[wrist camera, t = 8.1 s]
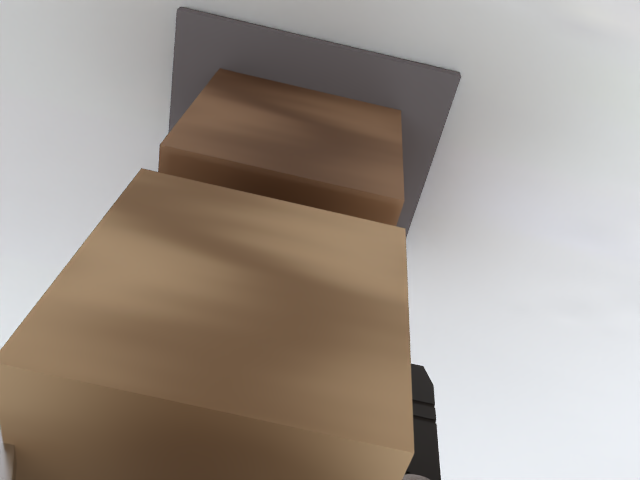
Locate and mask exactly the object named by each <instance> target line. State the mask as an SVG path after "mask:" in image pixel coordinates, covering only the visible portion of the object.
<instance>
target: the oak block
mask: <svg viewBox="0 0 640 480" xmlns="http://www.w3.org/2000/svg"><path fill="white" fill-rule="evenodd" d="M0 426H1V433H2V440H3V443H7V444H12V445H15V453H16V461H17V467H16V480H402V479H403V477H404V474H405V472H406V470H407V468H408V466H409V464H410V462H411V459H412V457H413V455H414V431H413V406H412V381H411V356H410V332H409V307H408V282H407V257H406V232H405V228H401V227H397V226H392V225H388V224H383V223H379V222H375V221H370V220H366V219H361V218H357V217H353V216H348V215H344V214H339V213H335V212H331V211H326V210H322V209H317V208H313V207H309V206H304V205H300V204H295V203H291V202H287V201H282V200H278V199H274V198H269V197H265V196H260V195H256V194H252V193H247V192H243V191H238V190H234V189H230V188H225V187H221V186H216V185H212V184H208V183H203V182H199V181H194V180H190V179H186V178H181V177H177V176H172V175H168V174H164V173H159V172H155V171H151V170H146V169H142V168H141V170H140V171H139V172H138V173H137V175H136V176H135V177H134V179H133V180H132V181H131V183H130V184H129V185H128V186H127V188H126V189H125V190H124V192H123V193H122V194H121V195H120V197H119V198H118V199H117V201H116V202H115V203H114V204H113V206H112V207H111V208H110V210H109V211H108V212H107V213H106V215H105V216H104V217H103V219H102V220H101V221H100V222H99V224H98V225H97V226H96V228H95V229H94V230H93V231H92V233H91V234H90V235H89V237H88V238H87V239H86V240H85V242H84V243H83V244H82V246H81V247H80V248H79V249H78V251H77V252H76V253H75V255H74V256H73V257H72V259H71V260H70V261H69V262H68V264H67V265H66V266H65V268H64V269H63V270H62V271H61V273H60V274H59V275H58V277H57V278H56V279H55V280H54V282H53V283H52V284H51V286H50V287H49V288H48V289H47V291H46V292H45V293H44V295H43V296H42V297H41V298H40V300H39V301H38V302H37V304H36V305H35V306H34V307H33V309H32V310H31V311H30V313H29V314H28V315H27V316H26V318H25V319H24V320H23V322H22V323H21V324H20V325H19V327H18V328H17V329H16V331H15V332H14V333H13V335H12V336H11V337H10V338H9V340H8V341H7V342H6V344H5V345H4V346H3V347H2V349H1V350H0Z"/></svg>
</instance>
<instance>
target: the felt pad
mask: <svg viewBox="0 0 640 480" xmlns="http://www.w3.org/2000/svg"><path fill="white" fill-rule="evenodd" d="M219 68H221V69H225V70H230V71H234V72H238V73H242V74H247V75H251V76H255V77H260V78H264V79H268V80H272V81H277V82H281V83H285V84H290V85H294V86H298V87H302V88H307V89H311V90H315V91H320V92H324V93H328V94H332V95H337V96H341V97H345V98H350V99H354V100H358V101H362V102H367V103H371V104H375V105H380V106H384V107H388V108H392V109H397V110H401V124H402V149H403V175H404V200H405V201H404V204H403V207H402V210H401V213H400V216H399V219H398V222H397V225H396V226H397V227H401V228H405V232H406V236H407V233H408V230H409V227H410V224H411V221H412V219H413V216H414V213H415V210H416V207H417V204H418V201H419V198H420V195H421V192H422V189H423V186H424V183H425V180H426V178H427V175H428V172H429V169H430V166H431V163H432V160H433V157H434V154H435V151H436V148H437V145H438V142H439V139H440V137H441V134H442V131H443V128H444V125H445V122H446V119H447V116H448V113H449V110H450V107H451V104H452V101H453V98H454V96H455V93H456V90H457V87H458V84H459V81H460V78H461V75H460V73H459V72H455V71H451V70H446V69H442V68H438V67H434V66H430V65H425V64H421V63H417V62H413V61H408V60H404V59H400V58H396V57H391V56H387V55H383V54H379V53H374V52H370V51H366V50H362V49H357V48H353V47H349V46H345V45H340V44H336V43H332V42H328V41H323V40H319V39H315V38H311V37H306V36H302V35H298V34H294V33H290V32H285V31H281V30H277V29H273V28H268V27H264V26H260V25H256V24H251V23H247V22H243V21H239V20H234V19H230V18H226V17H222V16H217V15H213V14H209V13H205V12H200V11H196V10H192V9H188V8H183V7H180V8H179V9H177V17H176V32H175V47H174V61H173V76H172V91H171V106H170V120H169V132H170V131H171V130H172V128H173V127H174V126H175V125H176V123H177V122H178V121H179V120H180V118H181V117H182V116H183V114H184V113H185V112H186V111H187V109H188V108H189V107H190V105H191V104H192V103H193V102H194V100H195V99H196V98H197V96H198V95H199V94H200V93H201V91H202V90H203V89H204V88H205V86H206V85H207V84H208V82H209V81H210V80H211V79H212V77H213V76H214V75H215V73H216V72H217V71H218V70H219Z"/></svg>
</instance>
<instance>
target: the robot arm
mask: <svg viewBox="0 0 640 480" xmlns="http://www.w3.org/2000/svg"><path fill="white" fill-rule="evenodd" d="M411 381H412V406H413V431H414V455H413V457H412V459H411V462H410V464H409V466H408V468H407V470H406V472H405V474H404V477H403V479H402V480H441V476H440V463H439V451H438V438H437V425H436V424H435V422H436V413H435V408H434V405H435V400H434V387H433V384H432V382H431V380H430V378H429V376H428V374H427V372H426V371H425V369H424V367H423V366H420V365H415V364H411ZM16 467H17V461H16V453H15V445H12V444H7V443H3V440H2V433H1V426H0V480H16Z"/></svg>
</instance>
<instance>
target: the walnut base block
mask: <svg viewBox="0 0 640 480" xmlns="http://www.w3.org/2000/svg"><path fill="white" fill-rule="evenodd" d="M158 172H159V173H164V174H168V175H172V176H177V177H181V178H186V179H190V180H194V181H199V182H203V183H208V184H212V185H216V186H221V187H225V188H230V189H234V190H238V191H243V192H247V193H252V194H256V195H260V196H265V197H269V198H274V199H278V200H282V201H287V202H291V203H295V204H300V205H304V206H309V207H313V208H317V209H322V210H326V211H331V212H335V213H339V214H344V215H348V216H353V217H357V218H361V219H366V220H370V221H375V222H379V223H383V224H388V225H392V226H396V225H397V222H398V219H399V216H400V213H401V210H402V207H403V204H404V201H405V200H404V175H403V149H402V124H401V110H397V109H392V108H388V107H384V106H380V105H375V104H371V103H367V102H362V101H358V100H354V99H350V98H345V97H341V96H337V95H332V94H328V93H324V92H320V91H315V90H311V89H307V88H302V87H298V86H294V85H290V84H285V83H281V82H277V81H272V80H268V79H264V78H260V77H255V76H251V75H247V74H242V73H238V72H234V71H230V70H225V69H221V68H219V70H218V71H217V72H216V73H215V75H214V76H213V77H212V79H211V80H210V81H209V82H208V84H207V85H206V86H205V88H204V89H203V90H202V91H201V93H200V94H199V95H198V96H197V98H196V99H195V100H194V102H193V103H192V104H191V105H190V107H189V108H188V109H187V111H186V112H185V113H184V114H183V116H182V117H181V118H180V120H179V121H178V122H177V123H176V125H175V126H174V127H173V128H172V130H171V131H170V132H169V134H168V135H167V136H166V137H165V139H164V140H163V141H162V143H161V144H160V151H159V168H158Z"/></svg>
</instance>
